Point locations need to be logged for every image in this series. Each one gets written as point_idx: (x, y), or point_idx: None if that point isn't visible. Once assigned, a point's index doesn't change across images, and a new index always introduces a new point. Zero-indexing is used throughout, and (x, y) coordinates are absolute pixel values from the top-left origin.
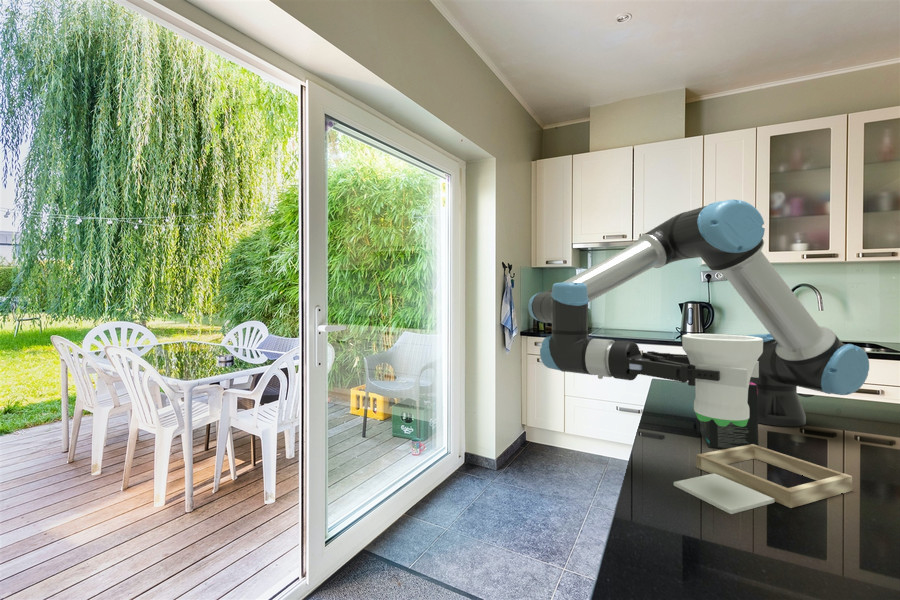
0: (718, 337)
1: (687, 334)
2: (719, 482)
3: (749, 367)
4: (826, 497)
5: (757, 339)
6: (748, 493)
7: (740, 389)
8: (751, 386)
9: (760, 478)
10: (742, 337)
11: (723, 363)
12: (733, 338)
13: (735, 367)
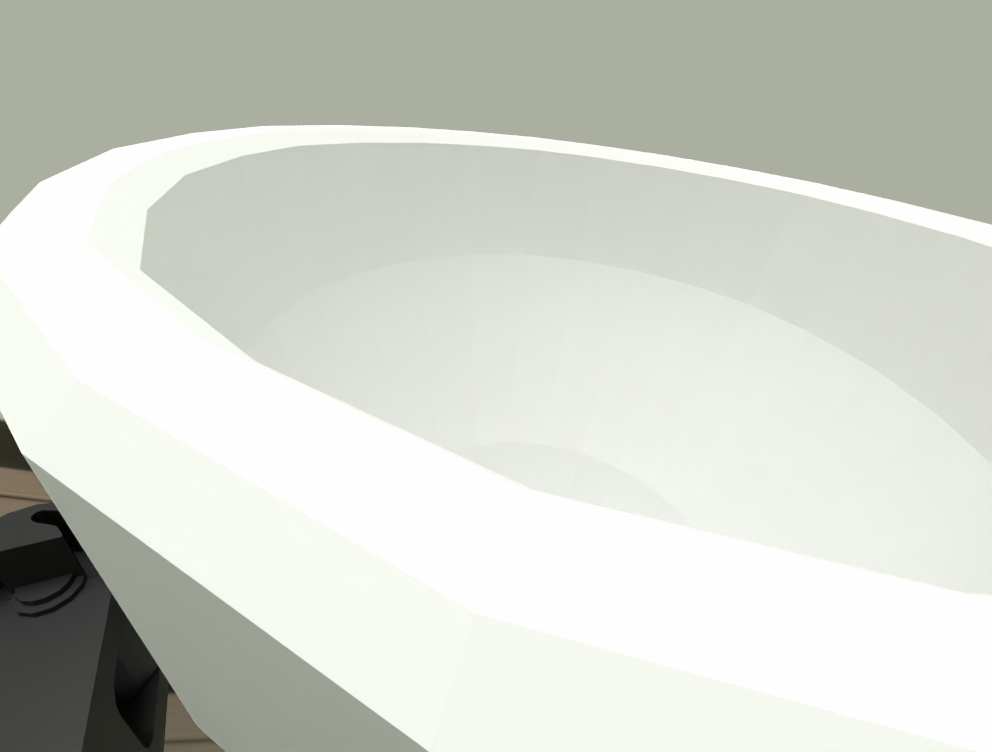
0: (190, 220)
1: (947, 643)
2: None
3: (626, 363)
4: None
5: (673, 157)
6: None
7: (613, 501)
8: None
9: None
10: (348, 151)
11: (814, 434)
12: (282, 182)
13: (728, 407)
